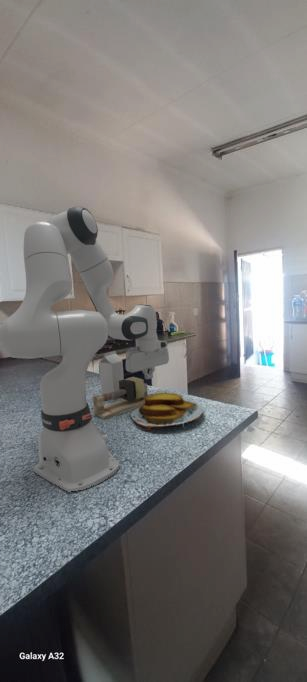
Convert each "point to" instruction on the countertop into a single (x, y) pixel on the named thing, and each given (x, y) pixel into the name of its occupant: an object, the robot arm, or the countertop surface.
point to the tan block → (137, 387)
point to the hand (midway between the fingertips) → (148, 378)
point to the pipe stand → (115, 403)
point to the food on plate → (166, 411)
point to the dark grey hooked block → (129, 387)
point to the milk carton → (110, 372)
